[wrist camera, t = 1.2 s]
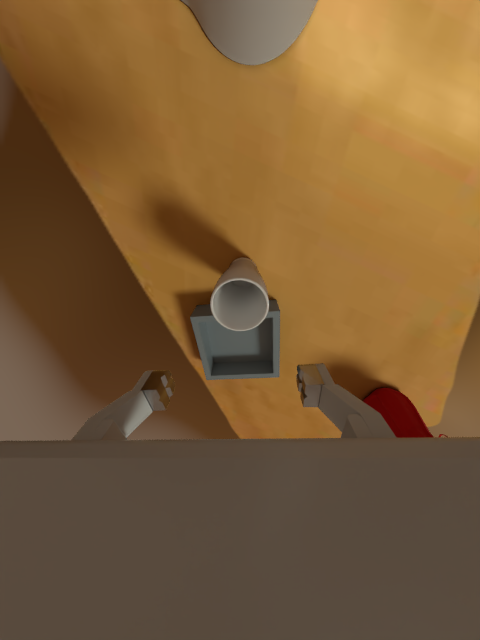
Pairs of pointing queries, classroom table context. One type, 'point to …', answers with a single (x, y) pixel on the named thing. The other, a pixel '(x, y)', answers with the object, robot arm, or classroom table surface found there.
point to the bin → (237, 346)
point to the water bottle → (398, 413)
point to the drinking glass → (240, 296)
